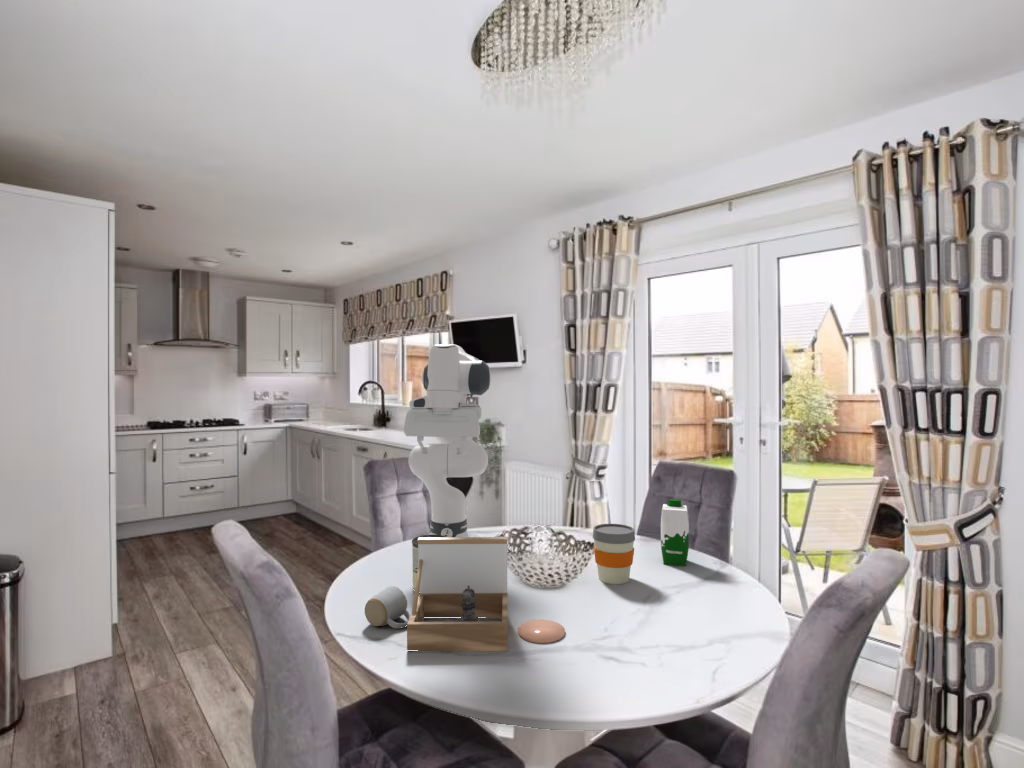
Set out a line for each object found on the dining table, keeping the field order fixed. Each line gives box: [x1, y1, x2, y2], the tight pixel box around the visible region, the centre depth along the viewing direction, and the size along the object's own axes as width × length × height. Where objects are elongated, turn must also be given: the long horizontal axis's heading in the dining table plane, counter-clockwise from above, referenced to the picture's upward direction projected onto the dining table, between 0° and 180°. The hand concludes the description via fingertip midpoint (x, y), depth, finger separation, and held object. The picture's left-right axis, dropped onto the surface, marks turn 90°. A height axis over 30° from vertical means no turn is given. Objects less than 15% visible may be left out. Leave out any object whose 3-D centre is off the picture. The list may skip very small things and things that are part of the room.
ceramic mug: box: [364, 585, 411, 629], centre depth 134 cm, size 11×8×8 cm
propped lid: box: [410, 536, 508, 616], centre depth 132 cm, size 14×22×15 cm, turn 91°
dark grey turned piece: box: [455, 585, 482, 622], centre depth 127 cm, size 6×6×12 cm
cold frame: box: [406, 592, 509, 652], centre depth 129 cm, size 18×22×6 cm
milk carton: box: [660, 497, 690, 567], centre depth 180 cm, size 9×9×20 cm
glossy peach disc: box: [517, 619, 566, 644], centre depth 129 cm, size 11×11×1 cm
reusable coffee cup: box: [592, 523, 636, 585], centre depth 165 cm, size 13×13×15 cm
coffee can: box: [411, 534, 446, 592], centre depth 157 cm, size 10×10×14 cm
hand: (441, 454), depth 147 cm, fingers open, 8 cm apart
